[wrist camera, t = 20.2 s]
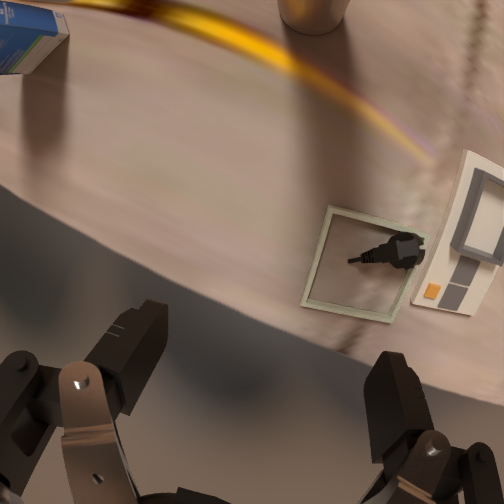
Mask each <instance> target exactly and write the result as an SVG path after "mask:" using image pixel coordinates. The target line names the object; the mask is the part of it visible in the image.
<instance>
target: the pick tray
mask: <svg viewBox="0 0 504 504" xmlns="http://www.w3.org/2000/svg"><path fill="white" fill-rule="evenodd" d="M333 213H334V214H338V215H342V216H346V217H350V218H354V219H357V220H361V221H365V222H369V223H373V224H376V225H380V226H384V227H387V228H391V229H394V230H398V231H402V232H403V231H404V232H411V233H415V234H417V235H418V236H420V237H421V239H422V240H423V242H424V245H421V247H422V249H426V246H427V243H428V241H429V238H430V234H429V233H428V232H427V231H423V230H420V229H417V228H414V227H410V226H407V225H403V224H400V223H397V222H393V221H390V220H386V219H382V218H379V217H375V216H372V215H368V214H364V213H360V212H357V211H353V210H349V209H345V208H341V207H337V206H333V205H329V204H328V206H327V210H326V214H325V218H324V221H323V225H322V229H321V232H320V236H319V239H318V243H317V246H316V250H315V253H314V257H313V260H312V264H311V267H310V270H309V274H308V277H307V280H306V284H305V287H304V290H303V293H302V296H301V300H300V306H304V307H309V308H313V309H318V310H323V311H328V312H333V313H338V314H343V315H349V316H354V317H359V318H365V319H370V320H375V321H381V322H387V323H392V322H393V320H394V318H395V316H396V314H397V312H398V310H399V308H400V306H401V304H402V302H403V300H404V298H405V295H406V293H407V291H408V289H409V287H410V284H411V282H412V280H413V278H414V275H415V273H416V271H417V268H418V266H419V265H416V266H414V268H413V269H408V271H407V274H406V276H405V279H404V281H403V283H402V285H401V288H400V290H399V292H398V294H397V297H396V299H395V301H394V303H393V305H392V307H391V309H390V312H389V314H383V313H378V312H372V311H367V310H362V309H357V308H352V307H347V306H342V305H337V304H332V303H327V302H322V301H317V300H313V299H308V295H309V292H310V289H311V285H312V282H313V279H314V276H315V273H316V269H317V266H318V263H319V260H320V256H321V253H322V250H323V246H324V243H325V239H326V236H327V232H328V229H329V225H330V222H331V218H332V215H333Z"/></svg>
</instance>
